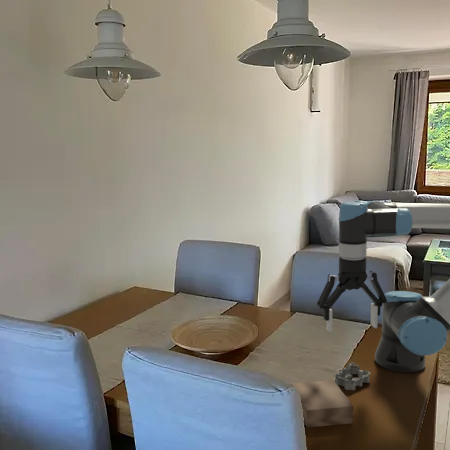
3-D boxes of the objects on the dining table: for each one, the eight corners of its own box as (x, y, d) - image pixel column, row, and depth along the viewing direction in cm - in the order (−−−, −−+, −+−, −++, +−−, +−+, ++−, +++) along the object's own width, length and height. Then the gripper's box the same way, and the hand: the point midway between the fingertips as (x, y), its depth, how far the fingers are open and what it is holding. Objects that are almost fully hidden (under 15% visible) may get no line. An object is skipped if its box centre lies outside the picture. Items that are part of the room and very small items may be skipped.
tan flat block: (332, 396, 142) (333, 380, 141) (352, 424, 128) (353, 406, 127) (291, 400, 140) (291, 383, 139) (306, 428, 126) (307, 410, 125)
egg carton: (353, 373, 155) (354, 360, 155) (373, 382, 150) (374, 369, 149) (329, 383, 149) (330, 370, 149) (350, 393, 143) (350, 379, 143)
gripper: (387, 251, 148) (386, 320, 152) (305, 257, 144) (306, 327, 148) (400, 256, 141) (398, 329, 144) (314, 263, 137) (314, 337, 141)
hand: (351, 328), depth 146 cm, fingers open, 13 cm apart
